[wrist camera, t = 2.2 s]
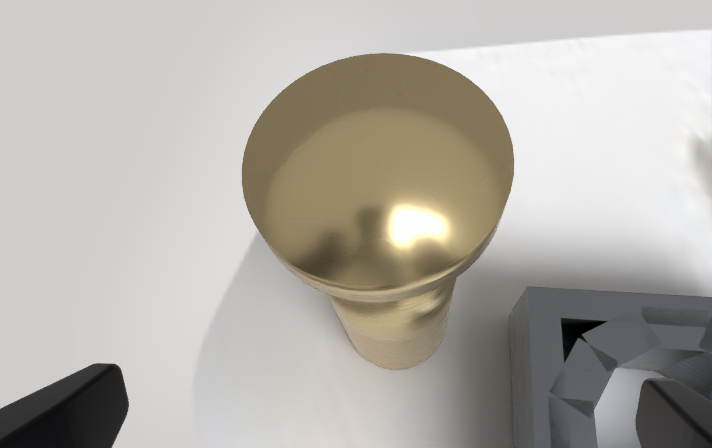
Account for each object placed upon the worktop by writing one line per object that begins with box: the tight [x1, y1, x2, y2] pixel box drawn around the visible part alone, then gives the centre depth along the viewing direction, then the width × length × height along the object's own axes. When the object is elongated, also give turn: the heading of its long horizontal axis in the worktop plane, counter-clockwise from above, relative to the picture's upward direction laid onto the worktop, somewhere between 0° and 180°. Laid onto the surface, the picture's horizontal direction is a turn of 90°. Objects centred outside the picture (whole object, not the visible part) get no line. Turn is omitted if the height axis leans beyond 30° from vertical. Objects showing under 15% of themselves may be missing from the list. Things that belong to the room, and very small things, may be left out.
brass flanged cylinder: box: [242, 53, 514, 370], centre depth 15 cm, size 5×5×12 cm
